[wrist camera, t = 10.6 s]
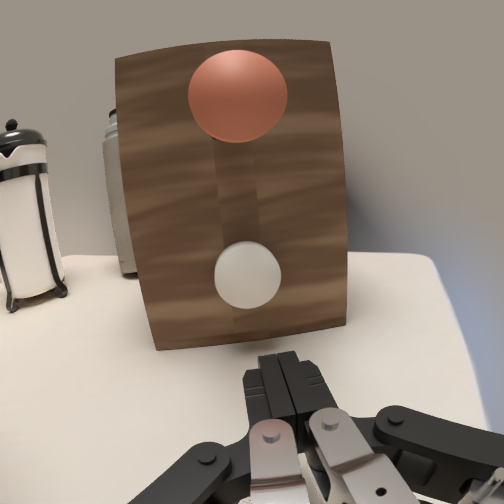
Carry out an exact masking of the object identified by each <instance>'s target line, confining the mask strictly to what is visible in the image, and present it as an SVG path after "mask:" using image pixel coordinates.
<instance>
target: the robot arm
mask: <svg viewBox="0 0 504 504" xmlns="http://www.w3.org/2000/svg"><path fill="white" fill-rule="evenodd" d="M258 368H259V369H252V370H246V372H245V375H244V377H243V386H244V393H245V400H246V406H247V413H248V419H249V431H248V433H247V434H246V436H245V437H244V438H243V439H241V440H240V441H238V442H236V443H234V444H231V445H228V446H226V447H224V446H223V445H221V444H219V443H215V442H203V443H199V444H196V445H194V446H193V447H191V448H190V449H189V450H188V451H187V452H186V453H185V454H184V455H183V456H182V457H180V458H179V459H178V460H177V461H176V462H175V463H174V464H173V465H172V466H171V467H170V468H168V469H167V470H166V471H165V472H164V473H163V474H162V475H161V476H159V477H158V478H157V479H156V480H155V481H154V482H153V483H151V484H150V485H149V486H148V487H147V488H146V489H144V490H143V491H142V492H141V493H140V494H139V495H137V496H136V497H135V498H134V499H132V500H131V501H130V502H129V503H128V504H238V503H239V501H240V500H241V499H244V498H246V497H249V496H251V504H310V502H309V497H308V492H307V487H306V483H305V479H304V478H303V477H302V474H301V469H300V464H299V459H298V454H299V453H304V452H305V455H306V458H307V470H308V472H309V475H310V477H311V479H312V481H313V484H314V486H315V488H316V491H317V493H318V495H319V497H320V500H321V502H322V504H432V503H430V502H427V501H423V500H419V499H417V498H416V497H415V495H414V494H413V492H415V493H418V494H421V495H424V496H427V497H430V498H434V499H437V500H440V501H444V502H447V503H451V504H504V435H502V434H497V433H494V432H489V431H485V430H481V429H477V428H473V427H469V426H466V425H462V424H458V423H455V422H451V421H448V420H444V419H441V418H438V417H434V416H431V415H428V414H424V413H421V412H418V411H415V410H412V409H409V408H406V407H403V406H397V405H393V406H388V407H385V408H383V409H381V410H380V411H379V412H378V414H377V415H376V417H370V418H356V417H351V416H349V415H348V413H346V412H345V411H343V410H341V409H339V408H338V406H337V404H336V402H335V400H334V398H333V396H332V394H331V392H330V390H329V388H328V386H327V384H326V383H325V380H324V378H323V376H322V374H321V372H320V370H319V368H318V367H317V366H316V365H315V364H313V363H312V362H311V361H309V360H307V361H301V362H299V360H298V357H297V355H296V353H295V351H289V352H283V353H277V354H271V355H264V356H258Z"/></svg>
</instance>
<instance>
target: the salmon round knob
mask: <svg viewBox="0 0 504 504" xmlns="http://www.w3.org/2000/svg"><path fill="white" fill-rule="evenodd" d="M287 97H288V96H287V87H286V83H285V80H284V78H283V76H282V74H281V72H280V71H279V69H278V68H277V67H276V66H275V65H274V64H273V63H272V62H271V61H269V60H268V59H267V58H265V57H263V56H261V55H259V54H257V53H254V52H250V51H245V50H230V51H225V52H221V53H219V54H216V55H214V56H212V57H210V58H209V59H207V60H206V61H204V62H203V63H202V64H201V65H200V66H199V67H198V69H197V70H196V71H195V73H194V74H193V76H192V79H191V81H190V84H189V89H188V101H189V106H190V109H191V112H192V114H193V116H194V118H195V120H196V122H197V123H198V125H199V126H200V127H201V128H202V130H204V131H205V132H206V133H207V134H209V135H210V136H212V137H214V138H216V140H221V141H224V142H229V143H243V142H248V141H251V140H254V139H256V138H259V137H260V136H262V135H264V134H265V133H266V132H268V131H269V130H270V129H272V128H273V127H274V126H275V125H276V124H277V123H278V121H279V120H280V119H281V117H282V115H283V113H284V111H285V108H286V104H287Z"/></svg>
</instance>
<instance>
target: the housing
mask: <svg viewBox="0 0 504 504" xmlns="http://www.w3.org/2000/svg"><path fill="white" fill-rule="evenodd" d="M230 50H245V51H250V52H254V53H257V54H259V55H261V56H263V57H265V58H267V59H268V60H269V61H271V62H272V63H273V64H274V65H275V66H276V67H277V68H278V69H279V71H280V72H281V74H282V76H283V78H284V80H285V83H286V87H287V96H288V97H287V104H286V108H285V111H284V113H283V115H282V117H281V119H280V120H279V121H278V123H277V124H276V125H275V126H274V127H273V128H272V129H270V130H269V131H268V132H266V133H265V134H264V135H262V136H260V137H259V138H256V139H254V140H251V141H248V142H243V143H229V142H224V141H221V140H216V138H214V137H212V136H210V135H209V134H207V133H206V132H205V131H204V130H202V128H201V127H200V126H199V125H198V123H197V122H196V120H195V118H194V116H193V114H192V112H191V109H190V106H189V101H188V89H189V84H190V81H191V79H192V76H193V74H194V73H195V71H196V70H197V69H198V67H199V66H200V65H201V64H202V63H203V62H204V61H206V60H207V59H209V58H210V57H212V56H214V55H216V54H219V53H221V52H225V51H230ZM115 94H116V116H117V132H118V144H119V155H120V165H121V174H122V183H123V191H124V198H125V205H126V212H127V218H128V225H129V231H130V237H131V242H132V248H133V253H134V258H135V263H136V268H137V273H138V278H139V283H140V287H141V292H142V296H143V300H144V304H145V309H146V313H147V317H148V321H149V325H150V328H151V332H152V336H153V340H154V343H155V347H156V350H169V349H181V348H192V347H203V346H212V345H221V344H230V343H238V342H246V341H253V340H260V339H267V338H274V337H280V336H287V335H293V334H299V333H305V332H310V331H316V330H321V329H327V328H332V327H337V326H342V325H346V307H347V207H346V206H347V205H346V184H345V167H344V153H343V141H342V130H341V120H340V111H339V102H338V94H337V86H336V80H335V72H334V65H333V59H332V53H331V47H330V42H326V41H313V40H290V39H258V40H257V39H253V40H232V41H219V42H207V43H199V44H190V45H182V46H176V47H169V48H163V49H158V50H153V51H147V52H142V53H137V54H133V55H128V56H125V57H120V58H116V59H115ZM242 241H252V242H256V243H259V244H261V245H263V246H265V247H266V248H267V249H268V250H269V251H270V252H271V253H272V254H273V256H274V257H275V259H276V261H277V262H278V264H279V267H280V271H281V282H280V286H279V288H278V290H277V292H276V294H275V295H274V296H273V297H272V298H271V299H270V300H269V301H268V302H267V303H265V304H263V305H261V306H259V307H256V308H250V309H243V308H238V307H234V306H232V305H230V304H229V303H227V302H226V301H225V300H223V298H222V297H221V296H220V295H219V293H218V291H217V289H216V286H215V265H216V262H217V259H218V257H219V256H220V254H221V253H222V252H223V251H224V250H225V249H226V248H227V247H229V246H231V245H233V244H235V243H238V242H242Z"/></svg>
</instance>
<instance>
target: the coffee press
mask: <svg viewBox="0 0 504 504" xmlns="http://www.w3.org/2000/svg"><path fill="white" fill-rule="evenodd" d="M17 125H18V124H17V121H16V120H14V119H11V120H9V121H8V122H7V123H6V126H5V127H6V130H7V132H3V133H1V134H0V277H1V281H2V284H3V287H4V290H5V292H6V294H7V303H6V308H7V310H8V311H11V312H15V311H16V310H17V307H18V303H19V301H20V300H21V299H22V298H28V297H32V296H36V295H39V294H41V293H44V292H46V291H53V292H54V293H55V294H56V295H57V296H58V297H60V298H62V297H63V296H65V295H66V294H67V293H68V290H67V288H66V286H65V285H64V284H63V283H62V281H63V280H64V268H63V264H62V260H61V255H60V251H59V246H58V241H57V236H56V231H55V226H54V220H53V214H52V208H51V201H50V194H49V187H48V178H47V174H48V165H47V163H46V157H45V149H46V147H47V142H46V140H44V138H43V136H42V134H41V133H40V132H38V131H36V130H33V129H16V128H17ZM15 129H16V130H15ZM55 286H58V288H57V287H55ZM12 298H16V299H15V300H14V303H13V307H12V309H11V301H12Z"/></svg>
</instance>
